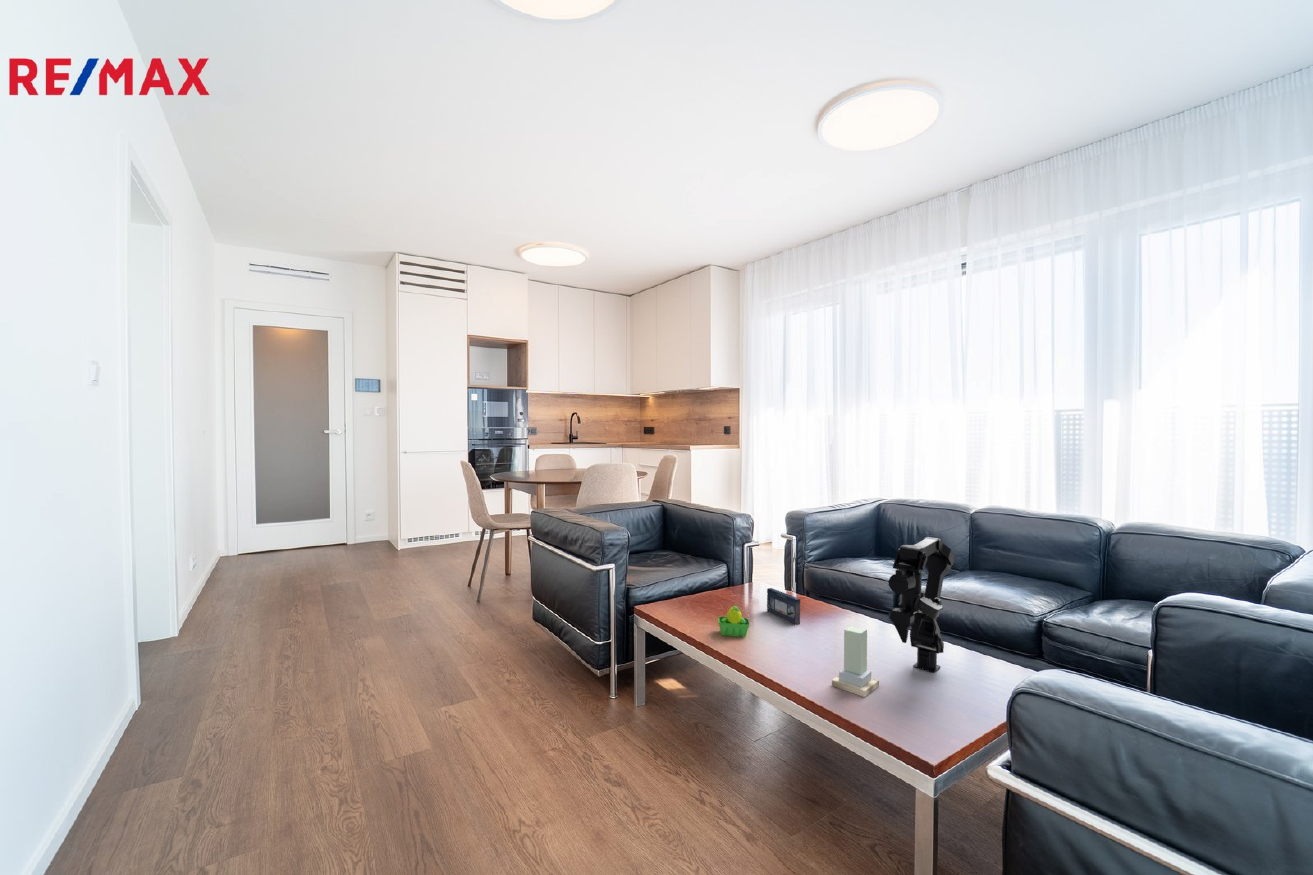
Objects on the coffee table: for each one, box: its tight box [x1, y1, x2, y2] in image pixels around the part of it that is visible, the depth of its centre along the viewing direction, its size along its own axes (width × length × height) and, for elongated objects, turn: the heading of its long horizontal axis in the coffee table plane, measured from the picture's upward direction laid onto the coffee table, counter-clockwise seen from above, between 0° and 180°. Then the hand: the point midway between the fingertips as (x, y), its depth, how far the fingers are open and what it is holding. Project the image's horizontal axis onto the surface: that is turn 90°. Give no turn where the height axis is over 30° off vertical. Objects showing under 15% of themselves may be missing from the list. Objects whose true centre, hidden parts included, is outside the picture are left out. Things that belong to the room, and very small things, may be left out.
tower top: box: [838, 667, 872, 687], centre depth 165 cm, size 7×7×2 cm
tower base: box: [831, 675, 880, 698], centre depth 165 cm, size 10×10×2 cm
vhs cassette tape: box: [766, 587, 801, 625], centre depth 227 cm, size 18×3×10 cm, turn 25°
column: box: [843, 625, 868, 675], centre depth 166 cm, size 5×5×12 cm
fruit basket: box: [717, 605, 750, 638], centre depth 207 cm, size 11×9×11 cm
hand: (910, 638), depth 169 cm, fingers open, 9 cm apart
